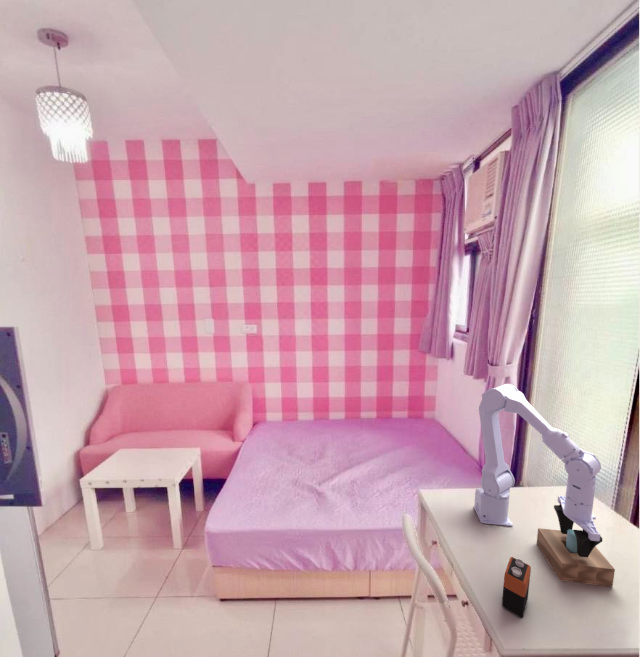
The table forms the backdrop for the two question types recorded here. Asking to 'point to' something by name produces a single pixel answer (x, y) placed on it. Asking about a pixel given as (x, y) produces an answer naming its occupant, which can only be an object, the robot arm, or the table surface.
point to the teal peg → (571, 541)
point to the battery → (516, 586)
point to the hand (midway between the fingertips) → (573, 544)
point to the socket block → (574, 560)
